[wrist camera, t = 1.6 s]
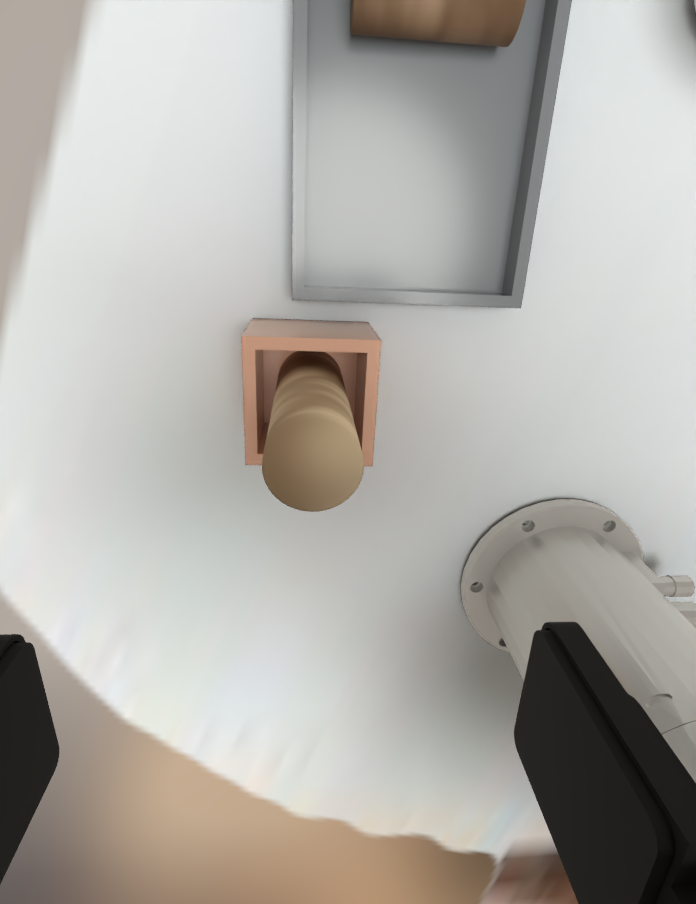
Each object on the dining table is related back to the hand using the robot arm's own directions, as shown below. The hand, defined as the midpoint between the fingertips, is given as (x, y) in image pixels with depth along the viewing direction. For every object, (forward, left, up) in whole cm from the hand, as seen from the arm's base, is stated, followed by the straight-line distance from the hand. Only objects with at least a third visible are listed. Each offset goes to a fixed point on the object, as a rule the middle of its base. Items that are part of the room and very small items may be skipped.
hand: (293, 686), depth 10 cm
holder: (0, 0, -22) cm, 22 cm away
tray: (-5, -13, -22) cm, 26 cm away
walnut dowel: (-5, -17, -22) cm, 28 cm away
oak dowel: (0, 0, -22) cm, 22 cm away
